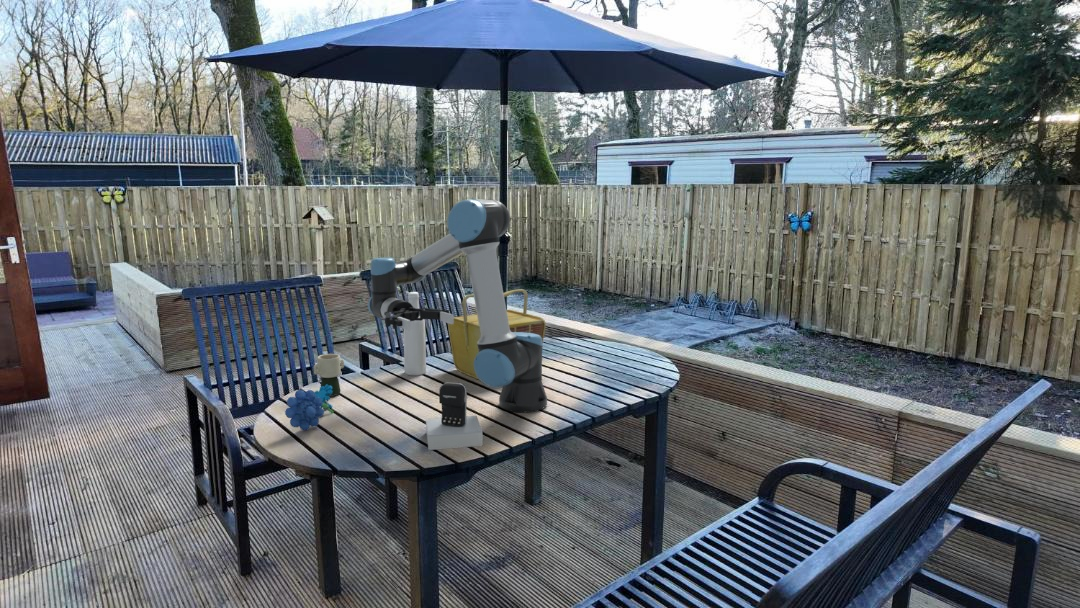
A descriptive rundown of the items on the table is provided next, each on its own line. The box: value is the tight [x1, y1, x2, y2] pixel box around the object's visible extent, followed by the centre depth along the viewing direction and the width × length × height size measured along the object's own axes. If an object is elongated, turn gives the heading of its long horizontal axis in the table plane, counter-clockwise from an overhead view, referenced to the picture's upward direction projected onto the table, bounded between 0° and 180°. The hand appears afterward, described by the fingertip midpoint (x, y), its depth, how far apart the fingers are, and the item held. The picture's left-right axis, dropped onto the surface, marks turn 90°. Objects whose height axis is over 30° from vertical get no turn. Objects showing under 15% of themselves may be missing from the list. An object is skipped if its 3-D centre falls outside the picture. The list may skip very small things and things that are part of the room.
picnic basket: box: [447, 288, 547, 380], centre depth 233 cm, size 29×26×30 cm
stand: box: [425, 415, 483, 451], centre depth 168 cm, size 14×12×4 cm
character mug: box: [313, 353, 345, 397], centre depth 203 cm, size 11×7×13 cm, turn 141°
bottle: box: [403, 291, 427, 376], centre depth 228 cm, size 8×8×30 cm
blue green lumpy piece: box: [314, 384, 334, 414], centre depth 190 cm, size 11×6×10 cm
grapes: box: [284, 389, 325, 431], centre depth 172 cm, size 12×7×12 cm, turn 144°
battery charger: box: [438, 381, 468, 427], centre depth 167 cm, size 7×4×11 cm, turn 73°
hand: (431, 322), depth 175 cm, fingers open, 13 cm apart
